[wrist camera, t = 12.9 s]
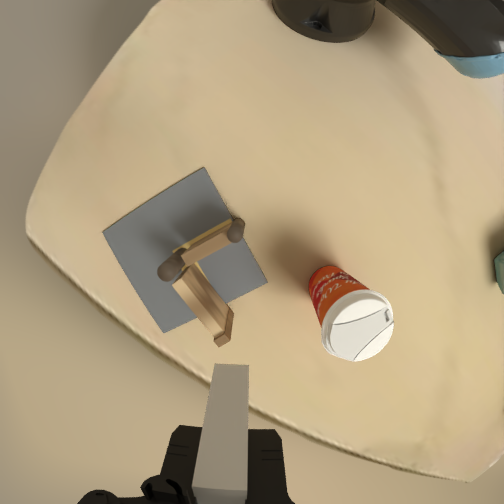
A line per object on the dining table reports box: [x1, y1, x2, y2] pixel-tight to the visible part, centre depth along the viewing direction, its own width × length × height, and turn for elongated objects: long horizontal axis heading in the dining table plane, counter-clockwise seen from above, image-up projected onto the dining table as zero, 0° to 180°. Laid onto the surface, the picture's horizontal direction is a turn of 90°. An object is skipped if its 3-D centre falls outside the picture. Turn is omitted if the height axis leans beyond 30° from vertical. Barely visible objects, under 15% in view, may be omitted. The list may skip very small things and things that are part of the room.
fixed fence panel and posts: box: [157, 218, 245, 282], centre depth 34 cm, size 2×10×8 cm, turn 118°
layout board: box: [102, 167, 268, 333], centre depth 38 cm, size 17×17×1 cm
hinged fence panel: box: [172, 263, 234, 347], centre depth 35 cm, size 9×2×8 cm, turn 35°
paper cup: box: [309, 266, 394, 361], centre depth 32 cm, size 8×8×14 cm
